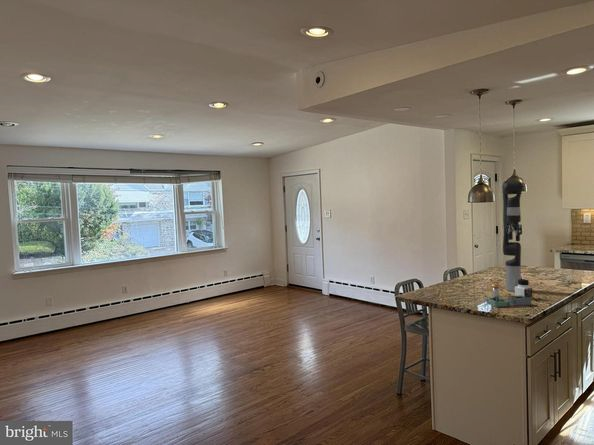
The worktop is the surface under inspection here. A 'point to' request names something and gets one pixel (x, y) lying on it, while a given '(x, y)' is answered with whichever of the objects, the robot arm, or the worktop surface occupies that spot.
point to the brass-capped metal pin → (495, 292)
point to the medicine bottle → (523, 288)
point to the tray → (498, 304)
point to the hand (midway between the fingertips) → (514, 240)
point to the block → (519, 300)
